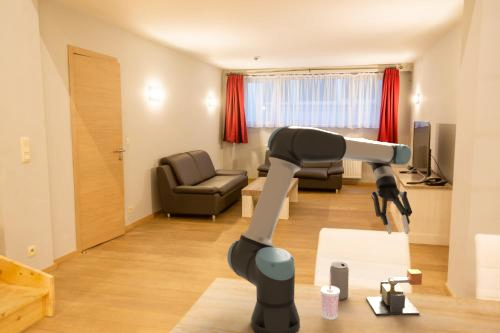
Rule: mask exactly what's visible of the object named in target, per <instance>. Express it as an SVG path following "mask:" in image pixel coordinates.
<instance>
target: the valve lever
mask: <svg viewBox="0 0 500 333" xmlns="http://www.w3.org/2000/svg"><path fill="white" fill-rule="evenodd" d="M387 281H388V284H389V285H391V286H396V285H397V284H401V283H402V284H404V283H405V284H407V283H408V284H409V286H410V285H411V286H417V285H418V286H419V285H422V284H423V283H422V282H423V272H421V270H419V269H407V272H406V277H390V278H388V280H387Z"/></svg>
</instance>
